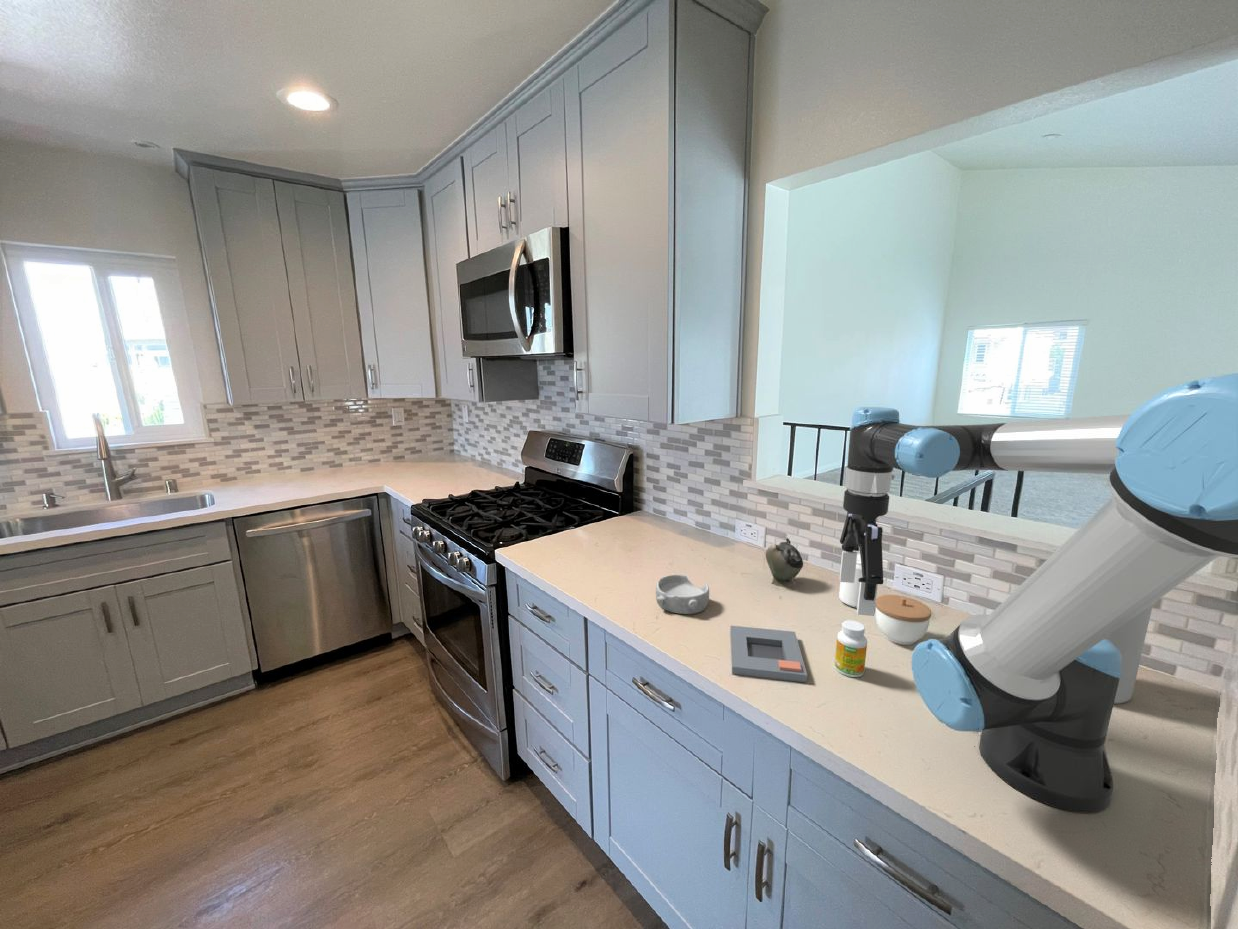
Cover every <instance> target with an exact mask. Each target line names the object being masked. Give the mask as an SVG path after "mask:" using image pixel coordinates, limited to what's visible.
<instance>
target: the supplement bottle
mask: <svg viewBox="0 0 1238 929" xmlns="http://www.w3.org/2000/svg"><path fill="white" fill-rule="evenodd" d="M865 629H866V628H865V625H864V624H862V623H861V622H859V621H856V620H844V621H843V622H842V625H841V630H840V631H839V632H838V633H837V637H836V645H835V646H836V647H835V658H834V667H835V669H836V671H837V672H838V673H839V674H842V675H843V676H846V677H850V678H859V677H862V676H863V675H864V673H865V666H866V665H865V664H866V658H867V657H866V656H867V649H868V638H867V637H866V636H865V631H866V630H865Z"/></svg>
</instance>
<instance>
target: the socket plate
mask: <svg viewBox="0 0 1238 929" xmlns="http://www.w3.org/2000/svg"><path fill="white" fill-rule="evenodd" d="M729 631H730V632H729V635H730V636H729V637H730V655H731V656H730V658H731V659H730V660H731V674H732V675H737V676H745V677H746V676H747V677H755V678H763V679H771V680H780V681H789V682H797V683H808V673H807V669H806V666H805V663H804V659H803V655H802V652H801V648H800V645H799V641H798V637H797V635H796V634H797V633H796V631H790V630H780V629H772V628H771V629H770V628H760V627H752V626H751V627H748V626H739V625H730V630H729Z"/></svg>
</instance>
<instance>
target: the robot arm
mask: <svg viewBox="0 0 1238 929" xmlns="http://www.w3.org/2000/svg"><path fill="white" fill-rule="evenodd" d="M850 425H851V426H850V427H849V443H848V453H847V454H848V455H847V466H846V469H845V470H846V472H845V480H844V487H845V488H846V490H844V494H843V503H842V505H843V506H842V507H843V510H845V512H846V517H845V521H844V525H843V528H842V531H841V532H842V533H841V536H840V539H839V543H840V544H841V549H842V551H841V560H840V561H841V562H840V570H839V572H840V573H839V582H848V583H854V580H855V571H856V561H857V553H858V552H859V553H860V557H861V567H862V577H863V578H859V579H858V581H859V582H860V587H859V596H858V605H857V608H856V614H857V615H858V616H859V615H862V616H872V617H875V607H876V606H875V603H876V599H877V594H878V585H884V569H883V568H884V566H883V564H884V563H883V541H882V540H883V530H884V529H883V527H882V526H879V525H878V524H877V520H876V519H877V518H878V517H883V516H886V515H887V514H888V512H889V506H890V504H889V503H890V495H889V493H890V492H891V485H892V481H893V480H894V479H895V477H896V476H895V474H893V471H894V469H896V470H899V471H903V472H905V473H908V474H911V475H913V476H914V477H915V476H916V477H925V478H929V479H930V478H931V479H935V478H937V479H938V478H941V477H943V476H944V475H946V474H949V473H950V472H956V471H957V472H959V471H1002V472H1003V471H1004V472H1006V471H1012V472H1013V471H1014V472H1040V473H1041V472H1043V473H1045V472H1046V473H1067V474H1090V475H1091V474H1092V475H1093V474H1094V475H1107V484H1108V488H1109V490H1110V492H1111V494H1112V497H1110V499H1108V500H1107V501H1106V502H1105V503H1104V504H1103V505H1102V506H1101V507H1100V508H1099V509H1098V510H1097V511H1096V512H1095V513H1094V514H1092V516H1091V517H1090V518H1088V519H1087V521H1086V522H1085V523H1083V525H1082V526H1080V527H1079V528H1078V529H1077V530H1076V531H1075V532H1074V533H1073V534H1072V535H1071V536H1070V537H1069V538H1068V539H1067V540H1065V542H1064V543H1063V544H1061V546H1059V548H1057V550H1055V551H1054V552H1053V553H1052V554H1051V555H1050V556H1049V557H1048V558H1047V559H1046V560H1045V561H1044V562H1043V563H1041V564H1040V565H1039V567H1038V568H1036V570H1034V571H1033V572H1032V574H1031V575H1029V577H1027V578H1026V579H1024V581H1023V582H1022V583H1021V584H1020V585H1019V586H1018V587H1017V588H1015V590H1013V592H1012V593H1011V594H1010V595H1008V597H1007V598H1005V600H1003V601H1002V602H1001V603H1000V604H999V605H998V606H997V607H996V608H995V609H994V610H993V611H992V612H991V613H990V614H984V613H983V614H982V613H980V614H974V615H970V616H969V617H967V618H966V619H964V620H963V621H962V622H961V623H960V624H959V625H958V626H957V627H956V628H955V629H954V630H953V631H952V632H951V633H950V634H948V635H947V636H946V637H944V638H940V639H936V638H929V639H927V640H924V641H921V642H919V643H918V644H917V645H916V646H915V647H914V649H913V651H912V654H911V661H910V662H911V670H912V676H913V679H914V680H913V681H914V684H915V687H916V689H917V691H918V694H919V696H920V697H921V699H922V701H923V703H924V704H925V706H926V708H927V709H928V710H929V711H930V713H931V714H932V715H933V716H934V717H935V718H936V719H937V720H938V721H939V722H941V723H942V724H944V725H945V726H946V727H947V728H949V729H951V730H953V731H957V732H976V733H980V732H981V733H980V737H979V743H978V744H979V745H978V748H979V752H980V755H981V757H982V759H983V762H985V764H987V766H988V767H989V768H990V769H991V771H992V772H993V773H994V774H996V775H997V777H999V778H1000V779H1002V781H1004V782H1005V783H1006V784H1008V785H1009V786H1011V787H1013V788H1014V789H1016V790H1017V791H1019V792H1021V793H1022V794H1024V795H1026V796H1028V797H1030V798H1032V799H1034V800H1036V801H1038V802H1041V803H1043V804H1045V805H1047V806H1051V807H1054V808H1056V809H1060V810H1063V811H1068V812H1073V813H1080V814H1094V813H1099V812H1102V811H1105V810H1106V809H1107V808H1108V807H1110V805H1111V801H1112V798H1113V793H1114V780H1113V776H1112V772H1111V767H1110V763H1109V758H1108V756H1107V750H1106V746H1105V743H1106V739H1107V734H1108V731H1109V725H1110V721H1111V718H1112V717H1111V716H1112V712H1113V707H1114V704H1115V703H1114V700H1115V696H1116V692H1117V687H1118V683H1119V679H1120V678H1121V677H1122V674H1121V673H1120V672H1121V664H1122V655H1121V653H1120V652H1119V650H1118V649H1117V647H1116V646H1115V645H1114V644H1113V643H1111V642H1110V641H1108V640H1107V639H1105V638H1106V637H1107V636H1108V635H1110V634H1111V633H1113V632H1114V631H1115V630H1117V629H1118V628H1120V627H1121V626H1122V625H1124V624H1125V623H1127V622H1128V621H1129V620H1131V619H1132V618H1134V617H1135V616H1136V615H1138V614H1139V613H1140V612H1142V611H1143V610H1145V609H1146V608H1147V607H1149V606H1150V605H1152V604H1153V605H1154V603H1155V602H1157V601H1159V600H1160V599H1161V598H1163V597H1164V596H1165V595H1167V594H1169V593H1170V592H1171V591H1173V590H1174V589H1175V588H1177V587H1178V586H1180V585H1181V584H1182V583H1184V582H1185V581H1186V580H1188V579H1189V578H1190V577H1192V576H1193V575H1195V574H1196V573H1197V572H1199V571H1200V570H1202V569H1203V568H1204V567H1206V566H1207V565H1209V564H1210V563H1211V562H1213V561H1215V559H1217V558H1219V557H1223V558H1224V557H1225V558H1235V559H1237V558H1238V372H1235V373H1230V374H1229V373H1228V374H1221V375H1218V376H1217V375H1216V376H1210V377H1204V378H1203V377H1202V378H1199V379H1194V380H1190V381H1185V382H1183V383H1180V384H1177V385H1175V386H1172V387H1170V388H1168V389H1165V390H1163V391H1162V392H1159V393H1157V394H1156V395H1154V396H1152V397H1150V398H1149V399H1147V400H1146V401H1145V402H1143V403H1142V404H1141V405H1140V406H1138V408H1136V409H1135V410H1134V411H1133V413H1131V414H1130V413H1129V414H1114V415H1101V416H1100V415H1099V416H1088V417H1086V416H1084V417H1071V418H1059V419H1045V420H1031V421H1030V420H1029V421H1016V422H1001V423H1000V422H999V423H985V424H982V423H981V424H966V425H965V424H962V425H961V424H960V425H958V424H955V425H953V424H952V425H951V424H949V425H916V424H915V425H912V424H906V423H901V422H900V412H899V411H898V410H897V409H895V408H890V407H881V406H879V407H878V406H864V407H858V408H856V409H854V411H853V412H852V419H851V424H850Z"/></svg>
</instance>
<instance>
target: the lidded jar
mask: <svg viewBox="0 0 1238 929" xmlns="http://www.w3.org/2000/svg"><path fill="white" fill-rule="evenodd" d="M874 617H875V623H876V626H877V627H878V629H879V631H880V632H881V633H882V634H883V636H884V638H886V639H887V640H888V641H890V642H892V643H895V644H898V645H905V646H908V645H909V646H910V645H911V646H912V645H913V644H915V642H918V641H919V640H921V639H922V638H923V637H924V636H925V634H926V633H927V631H928V628H929V626H930V621H931V617H932V610H931V608H930V607H929V606H928V605H926V604H925V603H923V602H921V601H920V600H918V599H914V598H912V597H909V596H903V595H899V594H898V595H897V594H884V595H879V596H878V597H876V603H875V611H874Z"/></svg>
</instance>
